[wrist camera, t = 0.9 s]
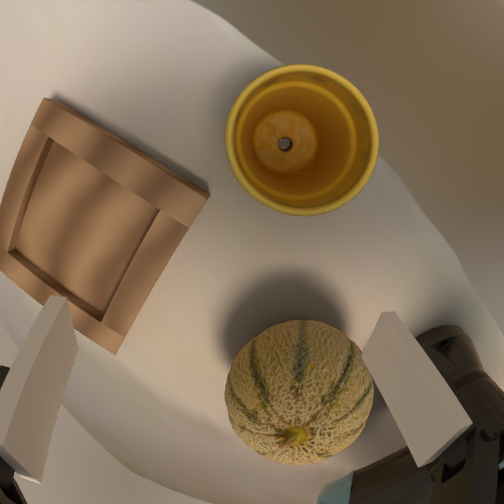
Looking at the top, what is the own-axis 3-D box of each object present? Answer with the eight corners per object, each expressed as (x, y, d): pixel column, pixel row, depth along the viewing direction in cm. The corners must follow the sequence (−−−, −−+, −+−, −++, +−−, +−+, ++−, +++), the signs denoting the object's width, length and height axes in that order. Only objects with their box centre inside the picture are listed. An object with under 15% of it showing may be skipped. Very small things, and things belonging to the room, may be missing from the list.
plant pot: (324, 207, 30) (361, 231, 20) (219, 186, 29) (210, 200, 19) (346, 107, 27) (391, 89, 17) (241, 81, 26) (243, 47, 16)
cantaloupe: (327, 398, 38) (356, 488, 23) (217, 389, 36) (212, 489, 22) (367, 304, 33) (431, 388, 19) (239, 284, 32) (241, 382, 17)
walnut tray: (210, 195, 29) (207, 199, 26) (123, 340, 33) (115, 355, 31) (58, 100, 25) (43, 97, 22) (1, 251, 29) (-13, 258, 26)
